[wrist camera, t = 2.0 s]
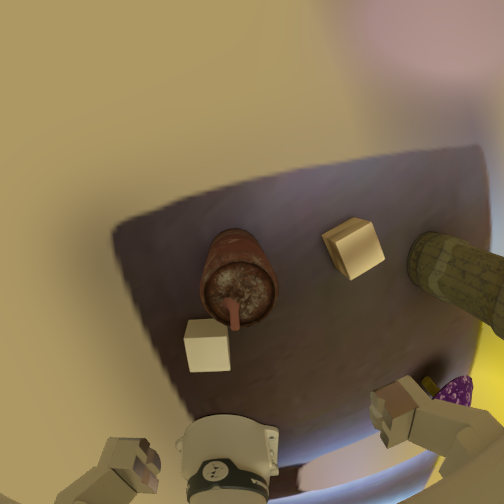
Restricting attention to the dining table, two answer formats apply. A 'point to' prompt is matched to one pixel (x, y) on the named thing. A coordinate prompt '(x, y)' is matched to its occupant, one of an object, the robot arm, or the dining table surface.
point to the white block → (207, 346)
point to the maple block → (353, 247)
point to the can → (238, 280)
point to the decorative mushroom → (451, 390)
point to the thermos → (460, 276)
